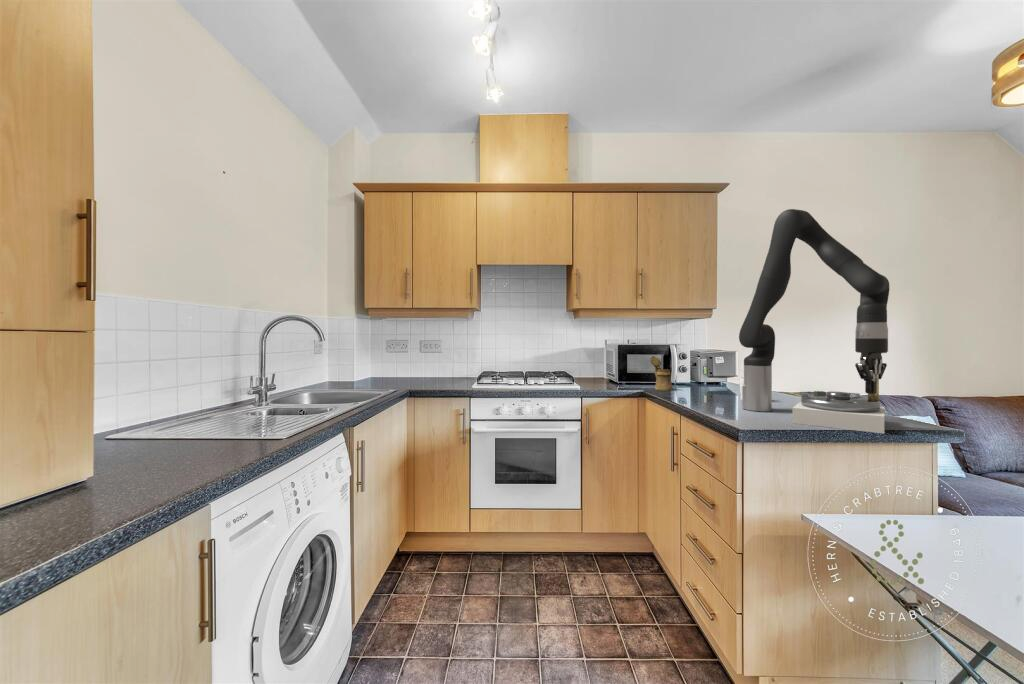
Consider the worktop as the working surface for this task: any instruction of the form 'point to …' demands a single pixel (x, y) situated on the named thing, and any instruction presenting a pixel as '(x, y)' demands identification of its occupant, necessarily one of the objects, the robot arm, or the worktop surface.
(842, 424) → the block
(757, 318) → the robot arm
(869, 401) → the handwheel with gold grip
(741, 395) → the white cup
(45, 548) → the worktop surface
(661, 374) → the utensil crock with spoon
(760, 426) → the worktop surface
